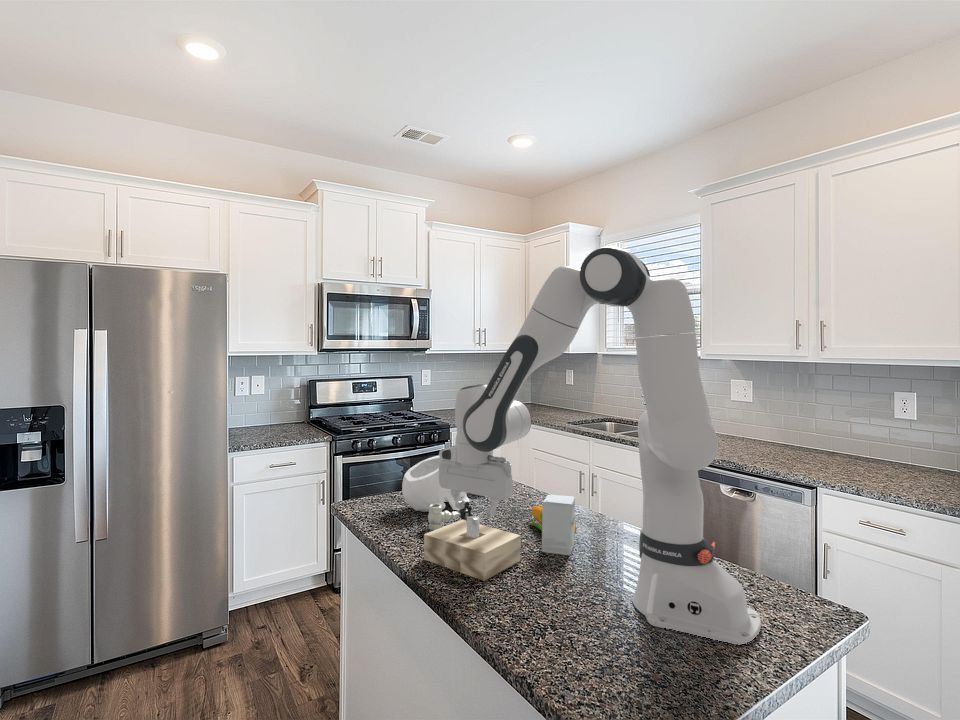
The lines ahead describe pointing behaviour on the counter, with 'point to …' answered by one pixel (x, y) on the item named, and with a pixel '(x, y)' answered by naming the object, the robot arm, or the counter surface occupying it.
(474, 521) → the steel peg
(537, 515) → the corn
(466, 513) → the valve
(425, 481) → the skull planter
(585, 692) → the counter surface
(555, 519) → the supplement box
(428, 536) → the hole block
